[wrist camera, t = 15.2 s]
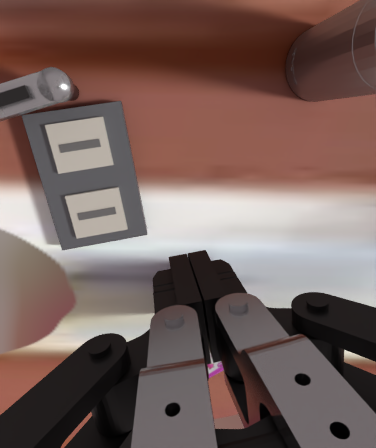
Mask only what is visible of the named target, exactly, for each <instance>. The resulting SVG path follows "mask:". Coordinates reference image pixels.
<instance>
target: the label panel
mask: <svg viewBox="0 0 376 448" xmlns="http://www.w3.org/2000/svg"><path fill="white" fill-rule="evenodd" d="M22 119H23V122H24V125H25V129H26V132H27V135H28V138H29V142H30V145H31V148H32V152H33V155H34V158H35V162H36V165H37V168H38V172H39V175H40V178H41V182H42V185H43V188H44V191H45V195H46V198H47V201H48V205H49V208H50V211H51V215H52V218H53V221H54V225H55V228H56V231H57V234H58V238H59V241H60V244H61V248H62V250H67V249H72V248H78V247H83V246H89V245H94V244H99V243H105V242H110V241H116V240H121V239H127V238H132V237H138V236H143V235H147V227H146V222H145V217H144V212H143V207H142V202H141V197H140V192H139V187H138V182H137V177H136V172H135V167H134V162H133V157H132V152H131V147H130V142H129V137H128V132H127V127H126V122H125V117H124V112H123V107H122V102H121V101H117V102H110V103H103V104H97V105H90V106H83V107H76V108H69V109H62V110H55V111H48V112H41V113H35V114H28V115H22Z"/></svg>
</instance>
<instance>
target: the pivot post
mask: <svg viewBox="0 0 376 448" xmlns="http://www.w3.org/2000/svg"><path fill="white" fill-rule="evenodd" d="M78 96H79V90H78V88H77V87H76V86H75V85H74V93H73V96H72V97H71V98H70V99H69V100H70V101H73V100H76V99H77V98H78Z"/></svg>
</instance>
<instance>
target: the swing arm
mask: <svg viewBox="0 0 376 448" xmlns="http://www.w3.org/2000/svg"><path fill="white" fill-rule="evenodd" d="M73 93H74V84H73V82H72V80H71V78H70V77H69V76H68V75H67V74H66V73H64V72H63V71H61V70H59V69H57V68H53V67H49V68H46V69H44V70H42V71H39V72H36V73H33V74H30V75H27V76H24V77H20V78H17V79H14V80H11V81H8V82H5V83H1V84H0V122H1V121H4V120H7V119H10V118H13V117H16V116H20V115H23V114H26V113H29V112H32V111H35V110H38V109H41V108H45V107H48V106H51V105H54V104H57V103H63V102H66V101H68V100H69V99H70V98H71V97H72V96H73Z"/></svg>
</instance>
